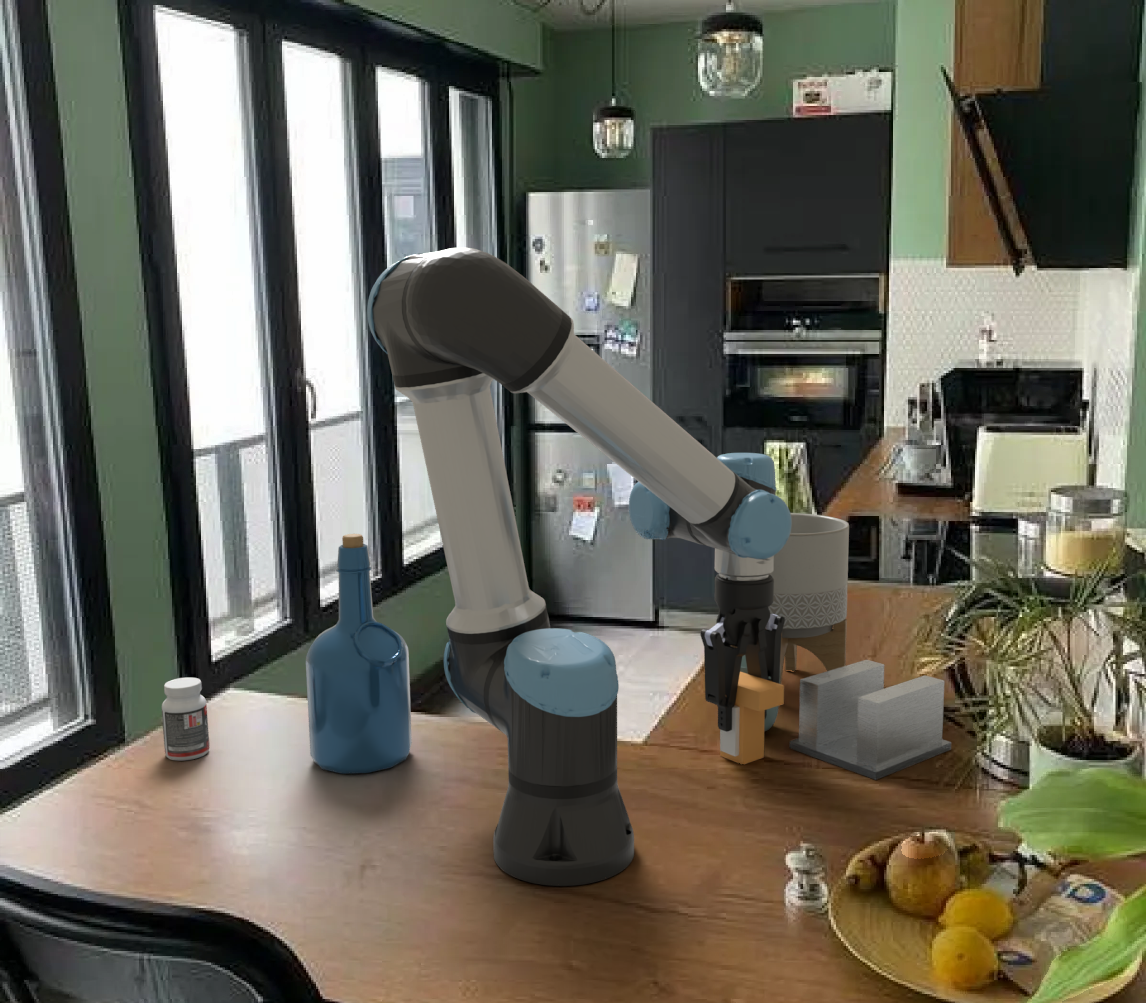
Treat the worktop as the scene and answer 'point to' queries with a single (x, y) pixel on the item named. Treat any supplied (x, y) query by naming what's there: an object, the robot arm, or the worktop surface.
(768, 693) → the orange t-shaped block
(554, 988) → the worktop surface
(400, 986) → the worktop surface
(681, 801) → the worktop surface
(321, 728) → the wine bottle
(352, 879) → the worktop surface
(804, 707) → the bracket
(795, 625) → the planter
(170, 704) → the pill bottle
